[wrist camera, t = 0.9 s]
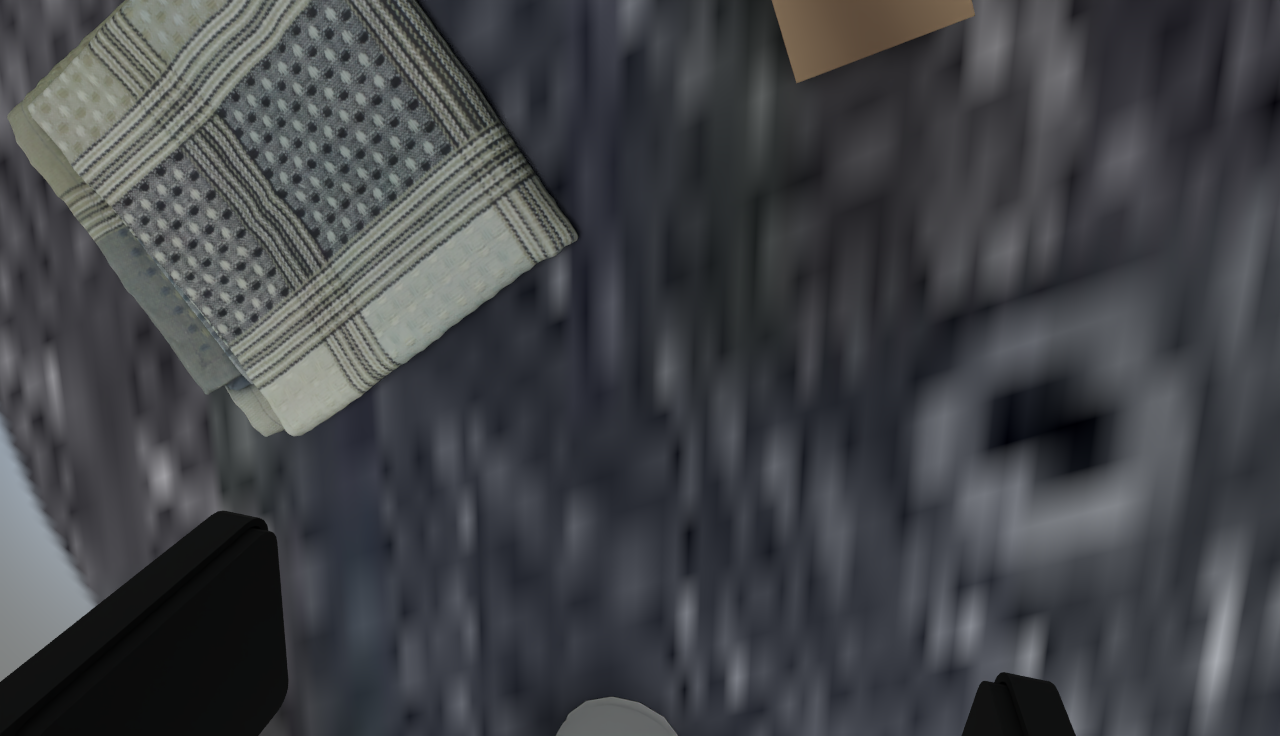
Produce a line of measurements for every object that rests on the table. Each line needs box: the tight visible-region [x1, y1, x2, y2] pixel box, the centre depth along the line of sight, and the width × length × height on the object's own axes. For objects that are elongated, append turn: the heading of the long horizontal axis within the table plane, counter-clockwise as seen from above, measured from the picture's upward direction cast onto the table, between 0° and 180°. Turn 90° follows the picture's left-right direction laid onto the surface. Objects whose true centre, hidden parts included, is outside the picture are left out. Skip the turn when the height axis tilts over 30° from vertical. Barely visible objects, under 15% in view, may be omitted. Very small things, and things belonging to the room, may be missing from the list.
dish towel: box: [7, 0, 578, 437], centre depth 32 cm, size 19×18×3 cm
